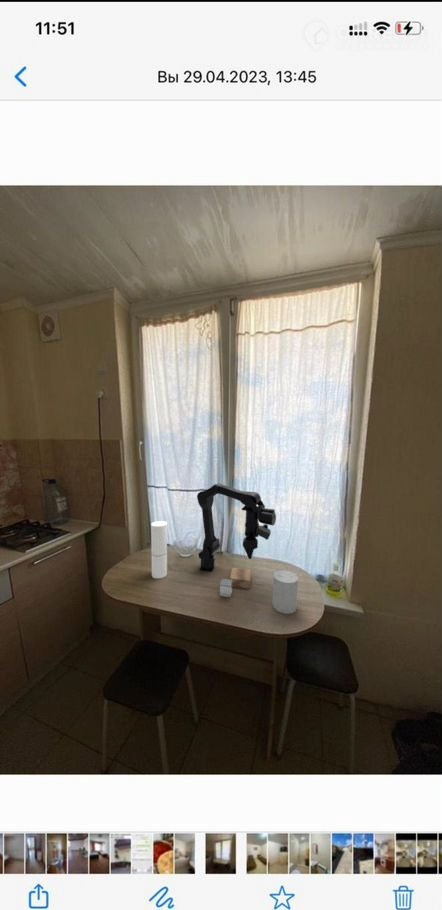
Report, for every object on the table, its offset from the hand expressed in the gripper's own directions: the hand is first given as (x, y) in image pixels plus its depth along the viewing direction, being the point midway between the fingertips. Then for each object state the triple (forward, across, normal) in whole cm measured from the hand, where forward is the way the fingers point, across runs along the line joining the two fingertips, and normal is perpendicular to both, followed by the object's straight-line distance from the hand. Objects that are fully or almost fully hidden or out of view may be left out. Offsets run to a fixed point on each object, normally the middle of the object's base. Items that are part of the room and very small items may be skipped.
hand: (250, 553), depth 114 cm
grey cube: (+13, -11, +9) cm, 19 cm away
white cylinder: (+13, -14, -15) cm, 24 cm away
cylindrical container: (+14, -3, +43) cm, 45 cm away
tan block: (+14, -1, +4) cm, 14 cm away
